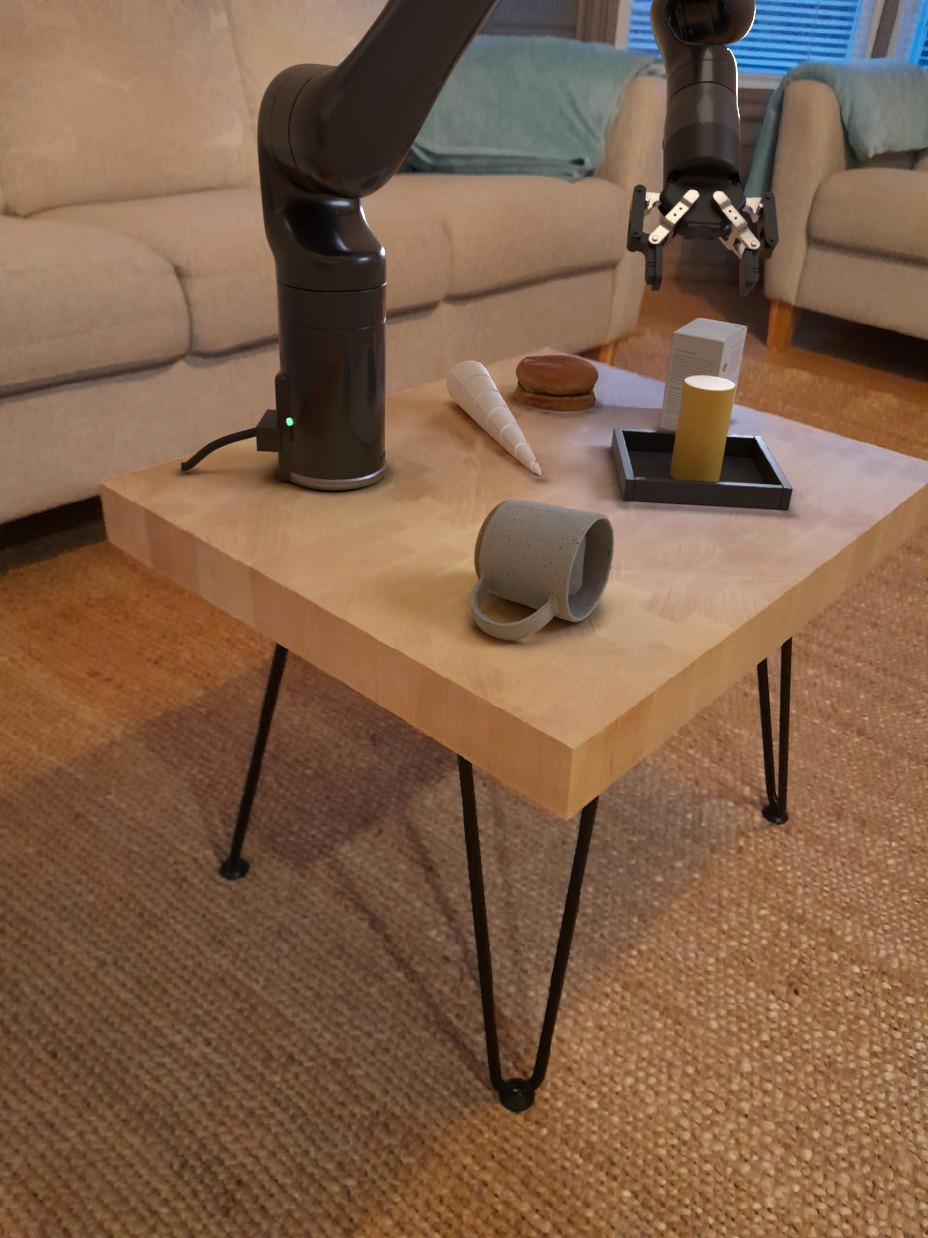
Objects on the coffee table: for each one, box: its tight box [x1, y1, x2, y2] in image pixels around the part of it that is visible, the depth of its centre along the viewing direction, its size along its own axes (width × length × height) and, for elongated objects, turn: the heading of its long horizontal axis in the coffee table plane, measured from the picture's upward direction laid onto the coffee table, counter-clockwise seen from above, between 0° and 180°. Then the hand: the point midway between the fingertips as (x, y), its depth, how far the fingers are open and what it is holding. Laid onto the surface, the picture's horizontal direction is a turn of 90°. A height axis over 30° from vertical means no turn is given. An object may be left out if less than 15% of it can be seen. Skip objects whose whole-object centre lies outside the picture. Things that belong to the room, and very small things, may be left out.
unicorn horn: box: [446, 359, 542, 476], centre depth 105 cm, size 5×24×5 cm, turn 14°
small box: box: [659, 317, 748, 431], centre depth 110 cm, size 8×6×10 cm
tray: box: [610, 427, 794, 511], centre depth 98 cm, size 15×14×2 cm
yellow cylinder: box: [670, 375, 737, 482], centre depth 96 cm, size 5×5×9 cm
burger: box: [513, 354, 599, 412], centre depth 117 cm, size 10×9×5 cm
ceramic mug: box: [470, 499, 615, 641], centre depth 73 cm, size 11×8×8 cm
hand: (701, 288), depth 100 cm, fingers open, 8 cm apart
